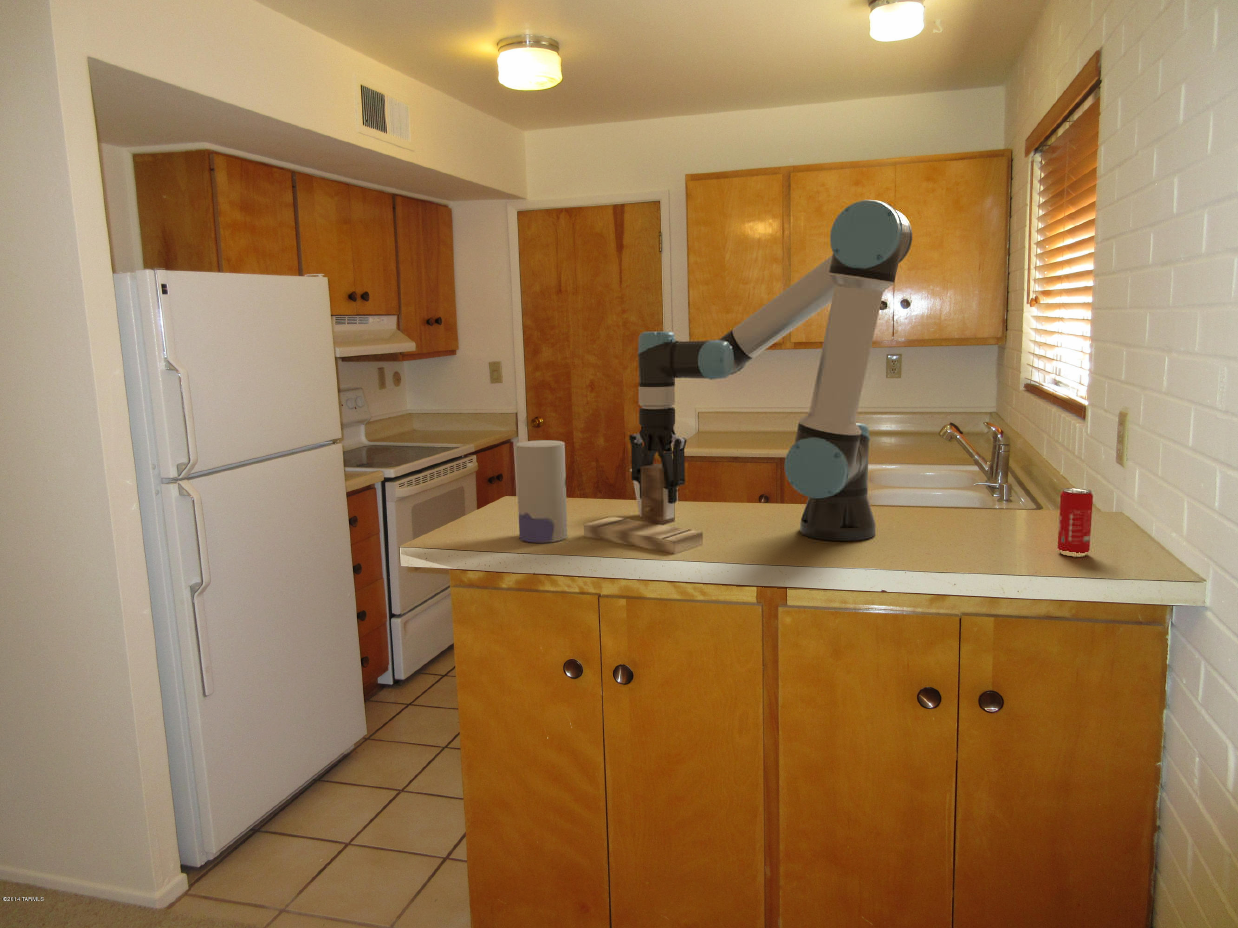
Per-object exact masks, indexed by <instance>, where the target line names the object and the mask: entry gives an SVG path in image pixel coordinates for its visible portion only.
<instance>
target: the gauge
mask: <svg viewBox="0 0 1238 928" xmlns="http://www.w3.org/2000/svg"><path fill="white" fill-rule="evenodd" d="M664 487H666V482H665V477H664V468H662V463H653V465H648V466H642V467H641V514H642V517H641V522H647V523H653V524H659V525H664V526H666V525H667V524H672V523H674V522H675V521H676V517H675V515H676V514H675V509H676V508H675V505H676V503H674V517H673V518H670V519H667V520H666V519H664V507H663V488H664Z"/></svg>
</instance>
